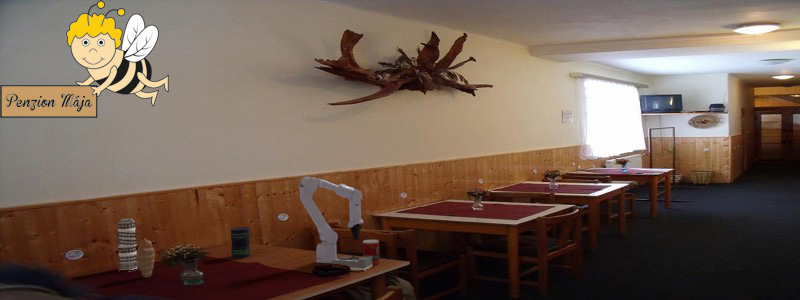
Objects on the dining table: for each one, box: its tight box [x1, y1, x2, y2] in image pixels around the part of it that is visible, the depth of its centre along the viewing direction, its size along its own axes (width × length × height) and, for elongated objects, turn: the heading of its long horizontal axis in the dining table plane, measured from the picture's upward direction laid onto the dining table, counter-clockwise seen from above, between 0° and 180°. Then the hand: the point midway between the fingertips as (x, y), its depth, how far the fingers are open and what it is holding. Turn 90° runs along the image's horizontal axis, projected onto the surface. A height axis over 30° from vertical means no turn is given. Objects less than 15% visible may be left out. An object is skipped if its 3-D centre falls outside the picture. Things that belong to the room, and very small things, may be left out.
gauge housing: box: [332, 255, 374, 271], centre depth 280 cm, size 17×10×5 cm, turn 71°
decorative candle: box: [116, 217, 139, 271], centre depth 290 cm, size 9×9×25 cm
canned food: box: [362, 239, 380, 266], centre depth 288 cm, size 8×8×11 cm
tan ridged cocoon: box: [136, 237, 156, 279], centre depth 272 cm, size 9×8×18 cm
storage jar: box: [230, 226, 251, 259], centre depth 315 cm, size 10×10×15 cm
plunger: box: [348, 255, 359, 261], centre depth 279 cm, size 4×7×4 cm
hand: (356, 239), depth 302 cm, fingers closed
